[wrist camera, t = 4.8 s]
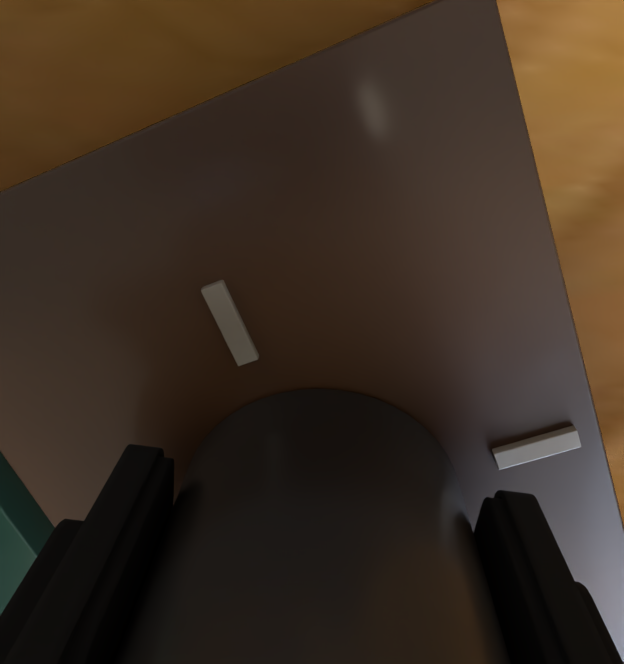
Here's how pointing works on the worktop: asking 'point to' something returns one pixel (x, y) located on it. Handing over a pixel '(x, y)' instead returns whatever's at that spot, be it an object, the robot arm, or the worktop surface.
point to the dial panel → (313, 281)
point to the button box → (18, 531)
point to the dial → (317, 546)
